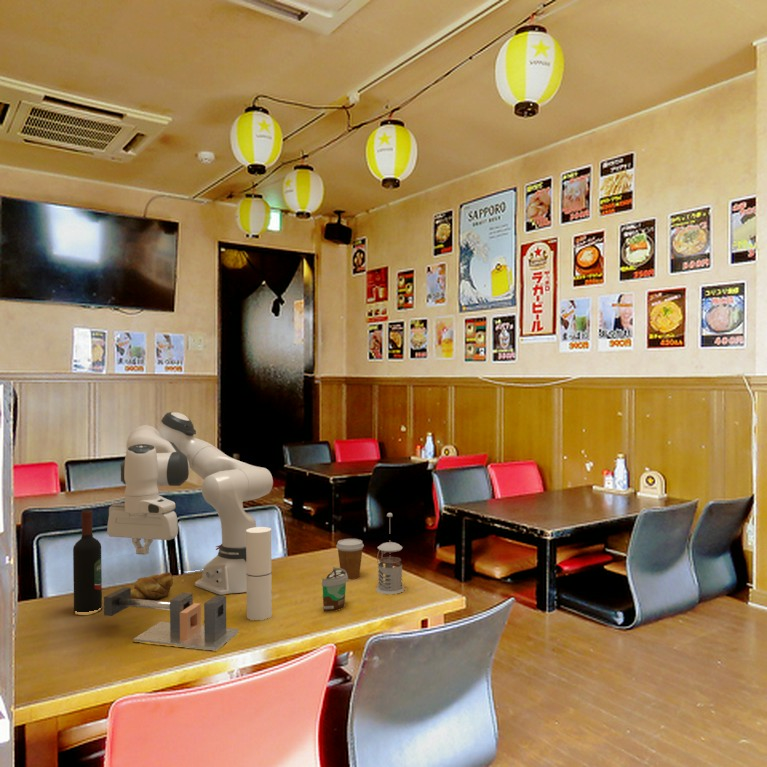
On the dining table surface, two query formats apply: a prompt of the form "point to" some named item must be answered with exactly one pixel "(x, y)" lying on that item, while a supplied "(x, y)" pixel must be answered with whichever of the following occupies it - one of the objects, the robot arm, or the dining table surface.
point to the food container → (334, 590)
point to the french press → (389, 568)
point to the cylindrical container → (258, 573)
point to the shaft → (128, 602)
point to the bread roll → (152, 587)
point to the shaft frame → (206, 638)
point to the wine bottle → (87, 568)
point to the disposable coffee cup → (350, 556)
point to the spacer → (185, 626)
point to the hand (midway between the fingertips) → (142, 553)
